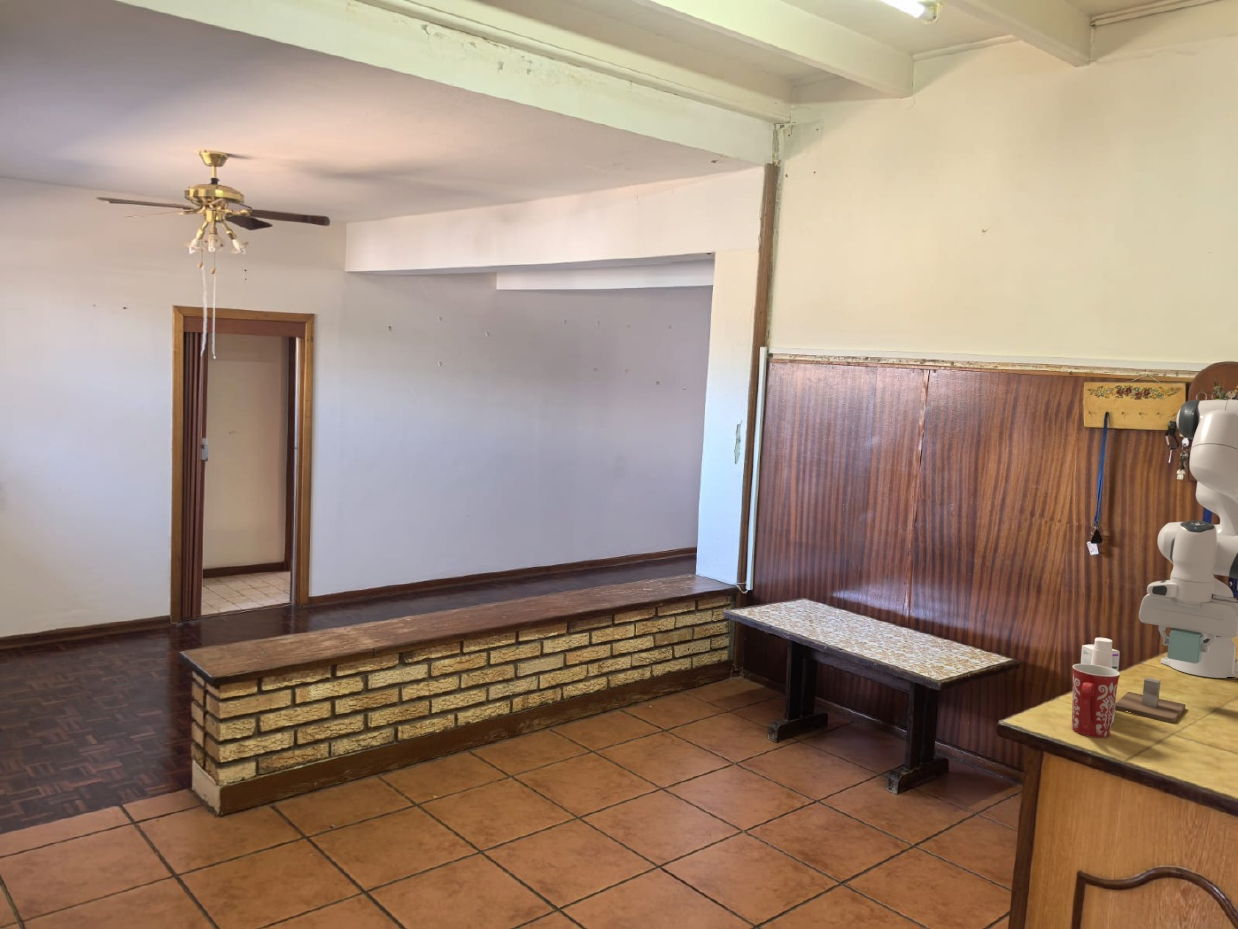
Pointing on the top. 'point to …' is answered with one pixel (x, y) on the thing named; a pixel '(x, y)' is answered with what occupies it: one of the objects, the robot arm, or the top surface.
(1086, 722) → the mug
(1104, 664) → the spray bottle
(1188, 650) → the pale teal box
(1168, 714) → the post board
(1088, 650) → the syrup box
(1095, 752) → the top surface
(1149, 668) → the top surface
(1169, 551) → the robot arm
